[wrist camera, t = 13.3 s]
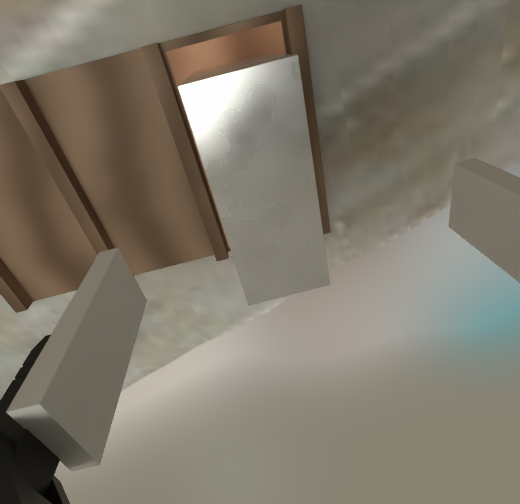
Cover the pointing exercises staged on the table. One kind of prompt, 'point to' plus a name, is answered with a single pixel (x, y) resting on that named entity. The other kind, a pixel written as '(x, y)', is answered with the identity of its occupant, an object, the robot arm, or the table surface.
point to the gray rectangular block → (261, 171)
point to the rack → (121, 160)
